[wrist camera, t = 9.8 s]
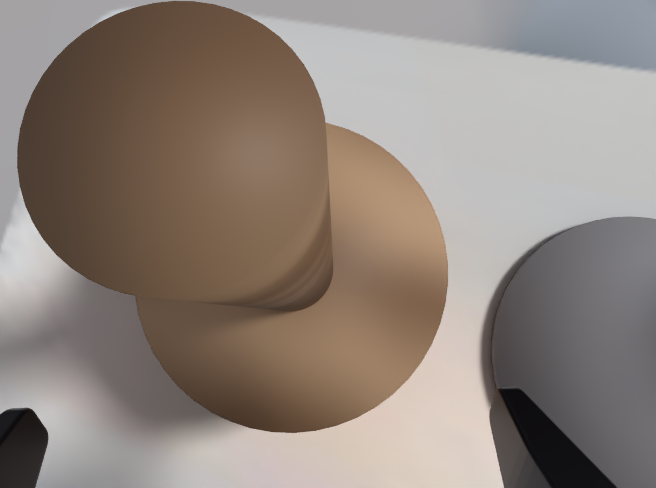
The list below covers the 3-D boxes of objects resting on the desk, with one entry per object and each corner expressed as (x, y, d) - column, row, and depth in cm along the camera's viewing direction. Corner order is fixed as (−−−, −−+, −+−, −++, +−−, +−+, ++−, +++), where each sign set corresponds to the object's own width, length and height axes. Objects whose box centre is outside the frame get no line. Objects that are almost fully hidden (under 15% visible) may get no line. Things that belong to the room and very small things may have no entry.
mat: (625, 577, 20) (633, 584, 19) (433, 329, 22) (435, 329, 21) (843, 388, 21) (855, 390, 20) (643, 166, 23) (650, 162, 22)
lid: (431, 441, 16) (782, 902, 4) (123, 408, 17) (-584, 717, 4) (450, 142, 18) (734, -287, 5) (169, 118, 18) (-220, -343, 6)
